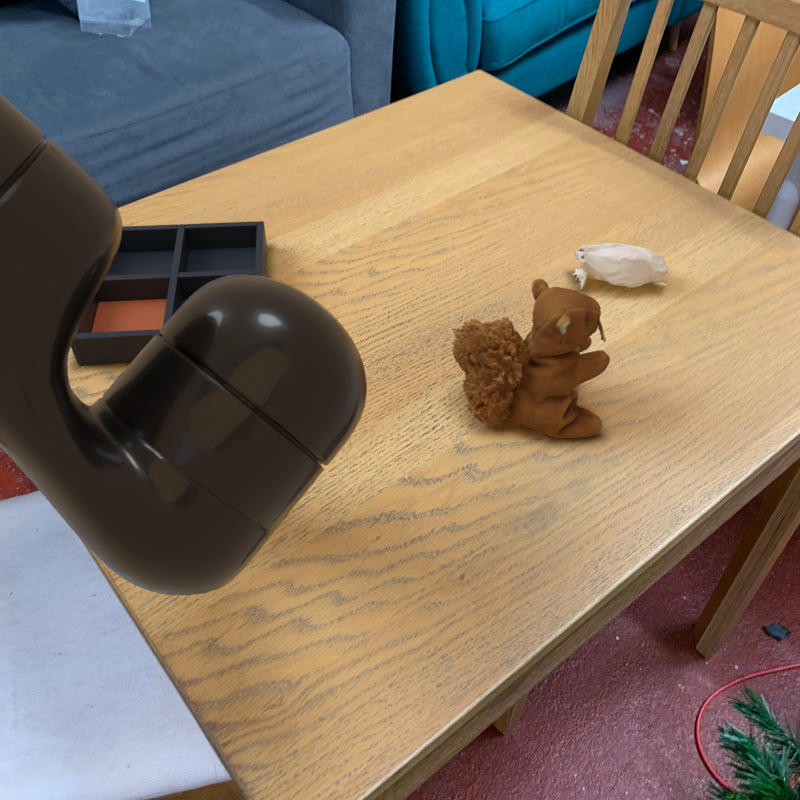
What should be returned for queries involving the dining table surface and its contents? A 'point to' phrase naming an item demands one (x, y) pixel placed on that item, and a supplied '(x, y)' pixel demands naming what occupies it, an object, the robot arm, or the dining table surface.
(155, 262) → the grid
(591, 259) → the bird figurine
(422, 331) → the dining table surface
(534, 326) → the stuffed squirrel
